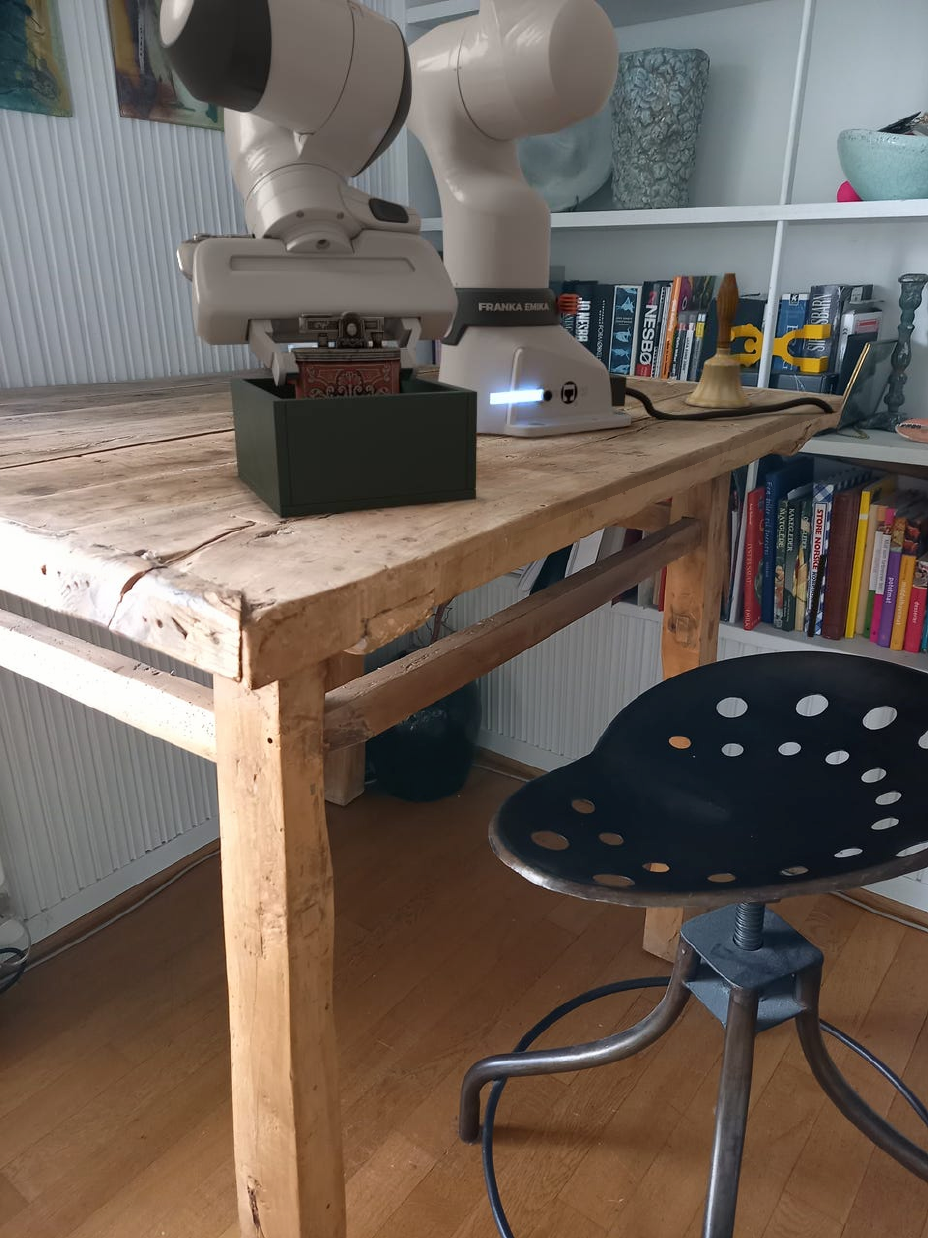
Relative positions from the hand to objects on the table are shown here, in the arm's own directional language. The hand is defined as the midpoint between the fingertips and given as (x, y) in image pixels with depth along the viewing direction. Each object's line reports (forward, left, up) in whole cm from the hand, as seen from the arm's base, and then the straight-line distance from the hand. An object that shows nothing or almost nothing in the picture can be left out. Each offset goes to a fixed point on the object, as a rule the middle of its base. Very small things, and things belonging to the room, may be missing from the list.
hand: (350, 377), depth 66 cm
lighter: (0, -1, -6) cm, 6 cm away
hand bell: (-59, -30, -9) cm, 67 cm away
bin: (0, -1, -8) cm, 8 cm away
